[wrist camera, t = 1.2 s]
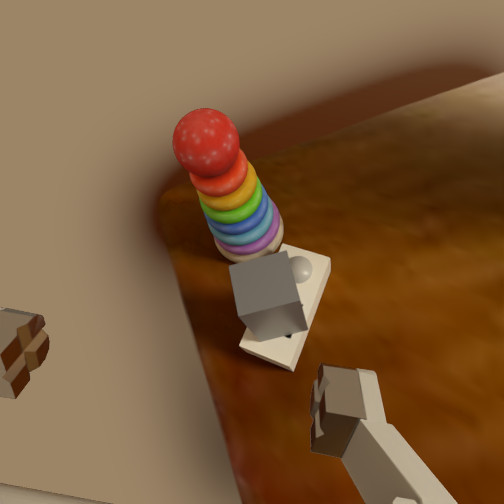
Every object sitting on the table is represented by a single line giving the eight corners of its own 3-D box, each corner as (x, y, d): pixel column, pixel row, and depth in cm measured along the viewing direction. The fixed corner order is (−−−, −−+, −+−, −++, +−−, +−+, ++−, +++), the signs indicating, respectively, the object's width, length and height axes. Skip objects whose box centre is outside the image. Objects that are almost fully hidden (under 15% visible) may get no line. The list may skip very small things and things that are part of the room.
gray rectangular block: (309, 335, 36) (300, 300, 26) (264, 346, 37) (238, 316, 27) (299, 296, 38) (286, 250, 28) (256, 307, 38) (228, 265, 29)
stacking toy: (208, 220, 46) (135, 101, 29) (269, 194, 45) (232, 59, 29) (228, 277, 42) (158, 178, 25) (295, 249, 42) (269, 131, 25)
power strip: (286, 257, 42) (282, 242, 38) (330, 271, 40) (330, 256, 37) (246, 352, 38) (238, 345, 35) (293, 371, 36) (289, 366, 33)
